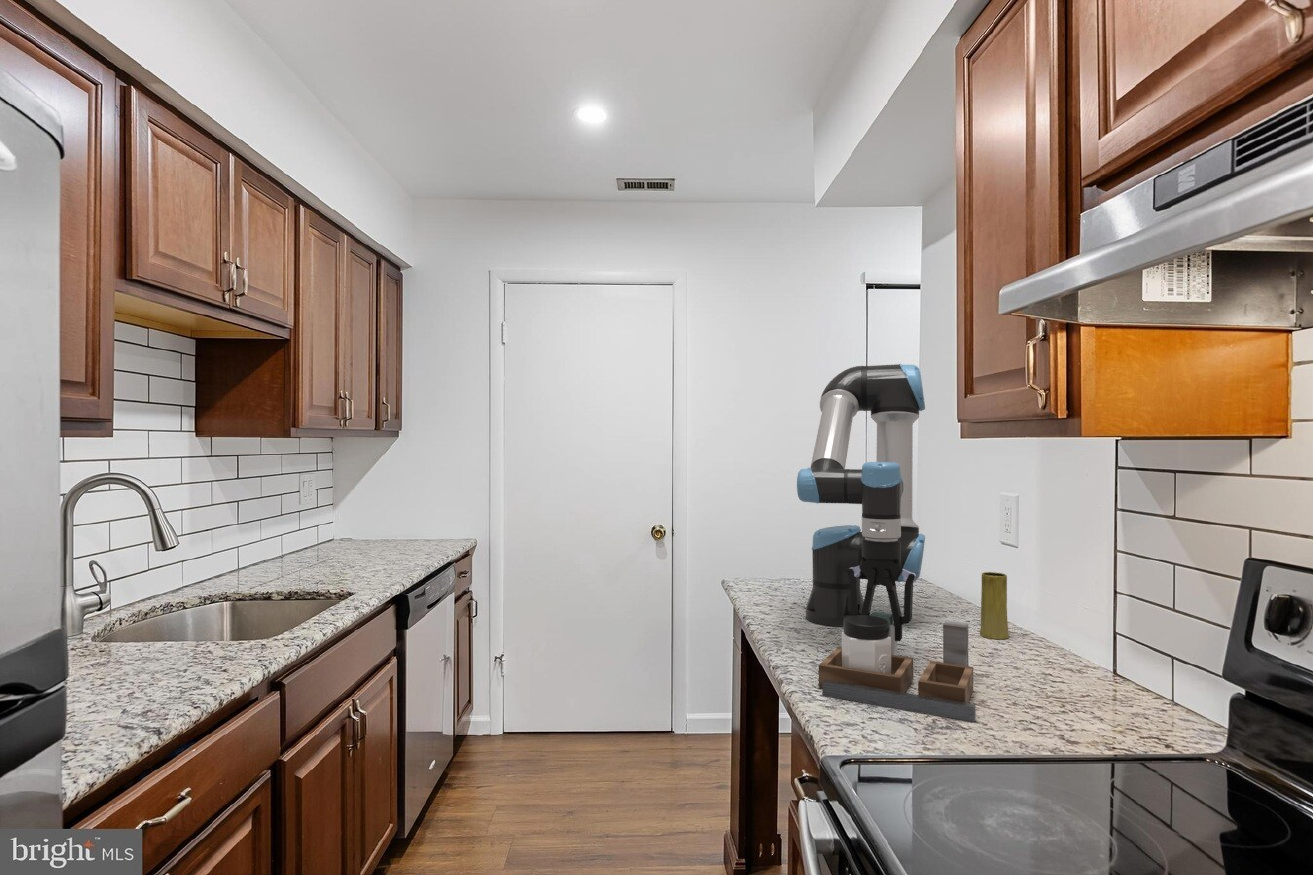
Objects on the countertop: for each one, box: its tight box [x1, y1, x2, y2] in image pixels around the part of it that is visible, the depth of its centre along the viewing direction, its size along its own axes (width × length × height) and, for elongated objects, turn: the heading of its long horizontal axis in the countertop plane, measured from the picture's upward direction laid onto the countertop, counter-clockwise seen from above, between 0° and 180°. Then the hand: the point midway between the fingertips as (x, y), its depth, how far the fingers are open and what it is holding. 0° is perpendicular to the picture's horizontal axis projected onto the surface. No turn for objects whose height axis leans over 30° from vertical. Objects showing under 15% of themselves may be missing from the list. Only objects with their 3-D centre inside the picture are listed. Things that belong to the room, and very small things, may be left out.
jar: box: [841, 615, 891, 674], centre depth 135 cm, size 9×8×12 cm
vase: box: [979, 571, 1010, 640], centre depth 168 cm, size 6×6×14 cm
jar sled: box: [818, 611, 914, 693], centre depth 139 cm, size 21×14×10 cm
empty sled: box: [917, 619, 974, 703], centre depth 132 cm, size 21×7×10 cm, turn 151°
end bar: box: [821, 680, 977, 723], centre depth 124 cm, size 2×25×2 cm, turn 61°
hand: (881, 654), depth 147 cm, fingers closed on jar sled, 4 cm apart
